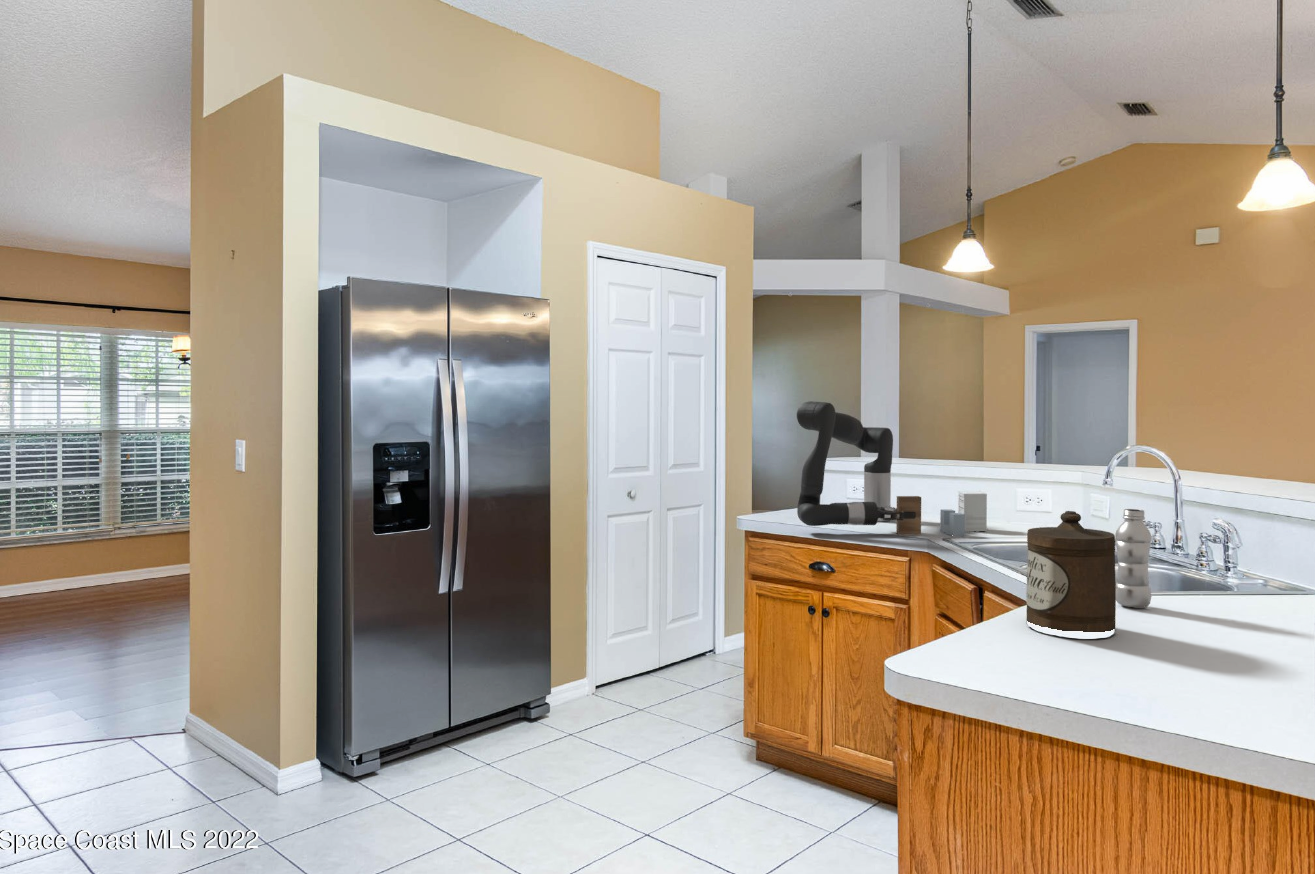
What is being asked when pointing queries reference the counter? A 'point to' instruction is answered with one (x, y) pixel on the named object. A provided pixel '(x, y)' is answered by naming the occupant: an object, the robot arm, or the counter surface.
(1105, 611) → the wooden container
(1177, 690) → the counter surface
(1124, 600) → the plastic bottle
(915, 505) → the walnut plate
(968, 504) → the supplement box
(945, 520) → the slotted base
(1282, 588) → the counter surface
